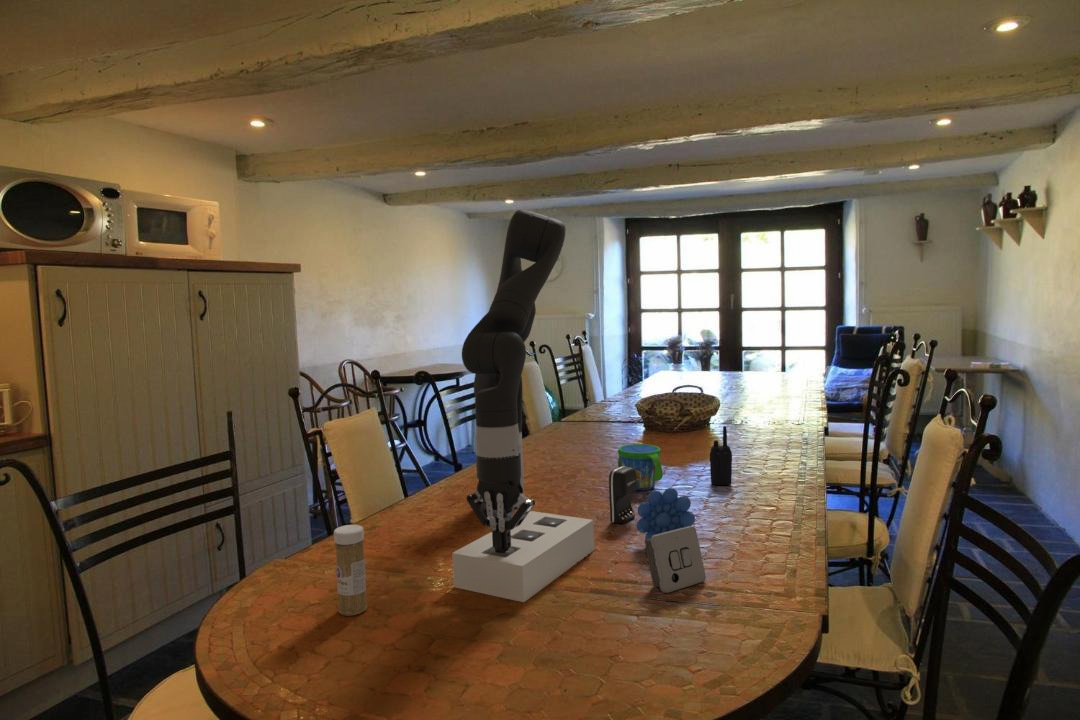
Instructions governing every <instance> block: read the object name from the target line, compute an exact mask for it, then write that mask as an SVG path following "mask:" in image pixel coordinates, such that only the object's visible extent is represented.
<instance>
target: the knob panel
mask: <svg viewBox="0 0 1080 720" xmlns="http://www.w3.org/2000/svg"><path fill="white" fill-rule="evenodd" d="M544 519H557V520H560V521H561V522H562V524H560V525H558V526H557V527H549V526H542V525H539V521H541V520H544ZM594 527H595V526H594V519H590V518H582V517H576V516H569V515H568V516H567V515H562V514H554V513H548V512H539V511H533V510H531V511H530V512H529V513H528V515H527V516H526V518H525V519H524V520H523V522H522V523H521V524H520V525H519V526H517V527H515V528H514V529H512V530H511V546H510V547H511V548H513V549H514V553H512V554H511V555H509V556H508V557H506V558H505V557H500V556H494V555H489V554H488V551H489V550H490V549H492V548H494V547H493V541H492V540H493V539H492V531H490V532H489V533H487V534H485V535H483V536H481V537H480V538H477V539H475V540H474V541H472V542H470V543H468V544H466V545H464V546H462V547H461V548H459V549H456V550H455V551H453V552H452V555H451V556H452V571H453V572H452V574H453V575H452V576H453V577H452V578H453V587H454V588H457V589H460V590H461V589H462V590H466V591H470V592H475V593H479V594H484V595H489V596H492V597H493V596H494V597H498V598H502V599H507V600H512V601H515V602H516V601H517V602H520V603H525V602H526V601H528V600H529V599H531V598H532V597H534V596H535V595H536V594H537V593H539V592H541V591H542V589H544V588H545V587H547V586H548V585H549V584H551V583H552V582H554V581H555V580H556V579H558V578H559V577H560V576H561V575H563V574H564V573H566V572H567V571H569V570H570V569H572V567H574V566H575V565H577V564H578V563H579V562H581V560H583V559H584V557H585V558H586V557H588V556H589V555H590V554H591V553H592V552H594V551H595V535H594V534H595V531H594V530H595V528H594ZM522 532H535V533H538V534H539V538H537V539H535V540H534V541H532V542H531V541H525V540H519V539H515V535H516V534H518V533H522ZM588 554H589V555H588ZM577 562H578V563H577Z"/></svg>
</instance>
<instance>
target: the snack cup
mask: <svg viewBox="0 0 1080 720" xmlns="http://www.w3.org/2000/svg"><path fill="white" fill-rule="evenodd" d="M661 452H662V449H661V448H660V446H657V445H653V444H646V443H635V444H634V443H633V444H632V443H631V444H624V445H621V446H619V447H618V449H617V454H618V460H617V466H618V467H617V468H619V467H622V466H625V467H630V468H633V469H635V471H636V474H637V490H636V491H649V490H651V489H654V487H655V486H656V482H659V481H661V480H662V478H663V477H664V476H663V475H664V474H663V467H662V464H661V459H660V456H661V454H662V453H661Z"/></svg>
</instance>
